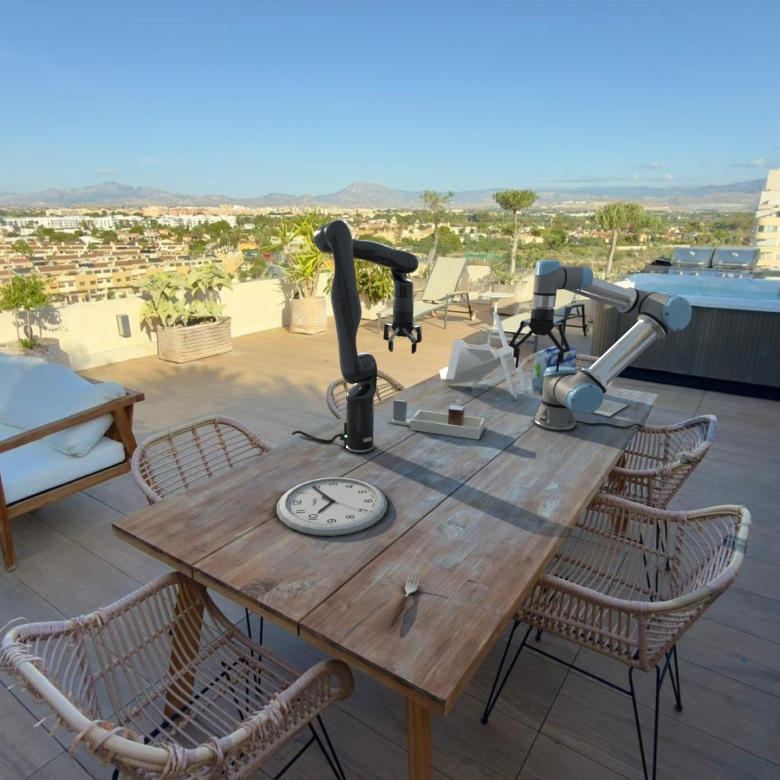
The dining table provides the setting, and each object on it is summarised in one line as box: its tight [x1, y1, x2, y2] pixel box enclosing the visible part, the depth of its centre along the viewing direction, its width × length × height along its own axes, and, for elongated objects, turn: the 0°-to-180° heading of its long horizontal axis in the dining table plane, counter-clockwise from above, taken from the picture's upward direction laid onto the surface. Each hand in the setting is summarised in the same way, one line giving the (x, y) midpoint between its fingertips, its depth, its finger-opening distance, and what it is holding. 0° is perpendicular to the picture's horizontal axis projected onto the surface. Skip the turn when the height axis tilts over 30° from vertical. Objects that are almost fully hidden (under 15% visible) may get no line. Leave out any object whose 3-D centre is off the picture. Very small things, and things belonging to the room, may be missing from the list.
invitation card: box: [592, 398, 629, 418], centre depth 226 cm, size 21×1×15 cm
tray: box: [390, 399, 486, 440], centre depth 198 cm, size 35×12×9 cm, turn 71°
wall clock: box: [276, 476, 388, 537], centre depth 142 cm, size 30×2×30 cm
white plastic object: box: [438, 310, 531, 400], centre depth 245 cm, size 37×45×31 cm
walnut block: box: [447, 404, 465, 426], centre depth 196 cm, size 5×5×8 cm
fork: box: [390, 569, 422, 628], centre depth 106 cm, size 3×16×2 cm, turn 160°
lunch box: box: [531, 345, 577, 393], centre depth 245 cm, size 26×11×21 cm, turn 134°
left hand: (402, 352), depth 196 cm, fingers open, 8 cm apart
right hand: (536, 368), depth 181 cm, fingers open, 13 cm apart
